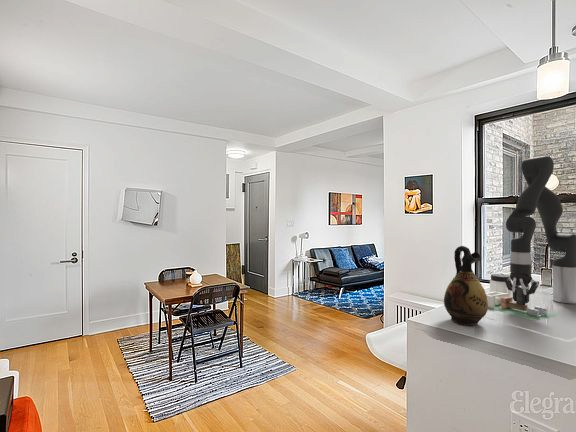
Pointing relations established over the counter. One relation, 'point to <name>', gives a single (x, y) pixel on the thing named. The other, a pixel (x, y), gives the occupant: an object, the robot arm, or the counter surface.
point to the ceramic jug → (465, 291)
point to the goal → (492, 296)
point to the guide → (537, 312)
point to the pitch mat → (519, 312)
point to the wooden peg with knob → (519, 305)
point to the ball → (497, 301)
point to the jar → (499, 284)
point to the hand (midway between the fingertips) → (520, 301)
